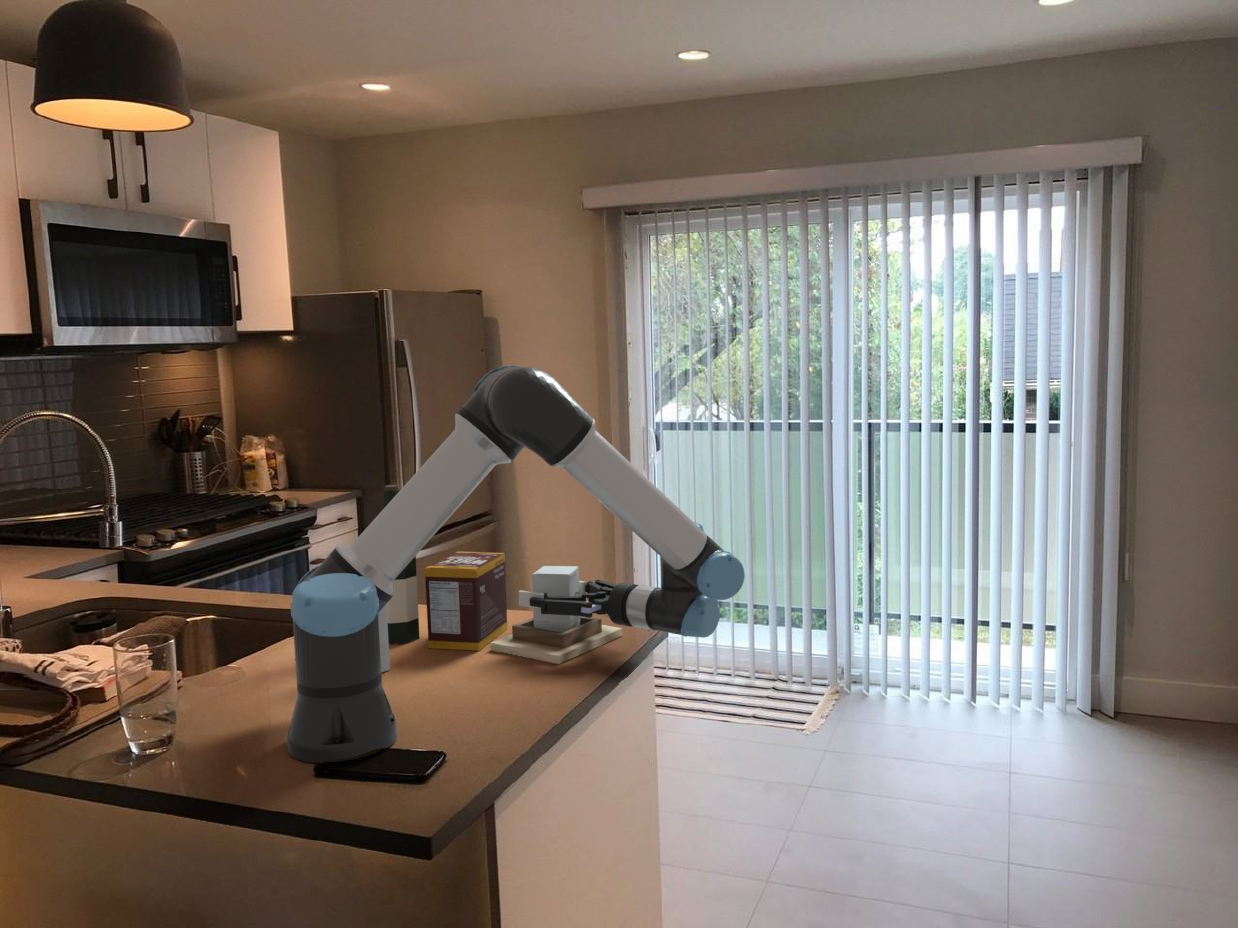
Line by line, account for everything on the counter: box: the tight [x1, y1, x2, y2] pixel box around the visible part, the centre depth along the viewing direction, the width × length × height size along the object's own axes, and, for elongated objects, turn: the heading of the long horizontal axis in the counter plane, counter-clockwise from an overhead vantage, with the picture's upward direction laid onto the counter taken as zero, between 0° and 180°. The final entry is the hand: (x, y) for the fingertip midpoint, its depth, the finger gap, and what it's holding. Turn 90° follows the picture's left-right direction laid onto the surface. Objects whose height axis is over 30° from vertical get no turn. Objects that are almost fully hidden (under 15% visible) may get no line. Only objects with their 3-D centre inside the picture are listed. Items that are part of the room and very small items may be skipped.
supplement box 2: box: [531, 565, 580, 633], centre depth 188 cm, size 7×7×13 cm
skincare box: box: [378, 605, 391, 673], centre depth 175 cm, size 6×4×12 cm
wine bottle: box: [382, 484, 420, 646], centre depth 193 cm, size 8×8×30 cm
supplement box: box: [424, 551, 508, 652], centre depth 193 cm, size 10×15×16 cm
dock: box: [489, 616, 623, 665], centre depth 189 cm, size 20×16×4 cm
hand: (539, 591), depth 190 cm, fingers open, 11 cm apart
